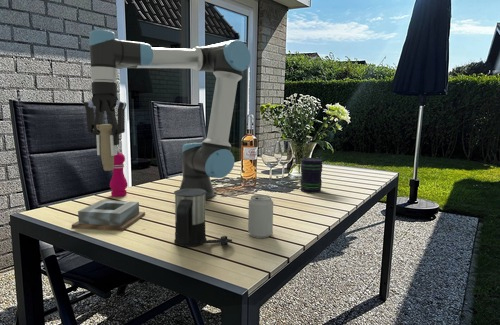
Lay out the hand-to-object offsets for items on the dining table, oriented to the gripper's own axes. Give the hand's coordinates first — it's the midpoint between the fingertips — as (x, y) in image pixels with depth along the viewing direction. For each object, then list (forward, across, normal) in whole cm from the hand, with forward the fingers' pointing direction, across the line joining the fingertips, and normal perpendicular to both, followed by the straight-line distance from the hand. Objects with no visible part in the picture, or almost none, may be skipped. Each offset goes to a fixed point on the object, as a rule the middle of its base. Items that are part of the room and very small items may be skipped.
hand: (107, 154), depth 118 cm
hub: (+22, 0, 0) cm, 22 cm away
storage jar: (+23, -69, -58) cm, 93 cm away
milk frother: (+23, -36, +15) cm, 45 cm away
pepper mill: (+23, +14, -34) cm, 43 cm away
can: (+23, -51, +5) cm, 56 cm away
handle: (+5, 0, 0) cm, 5 cm away
